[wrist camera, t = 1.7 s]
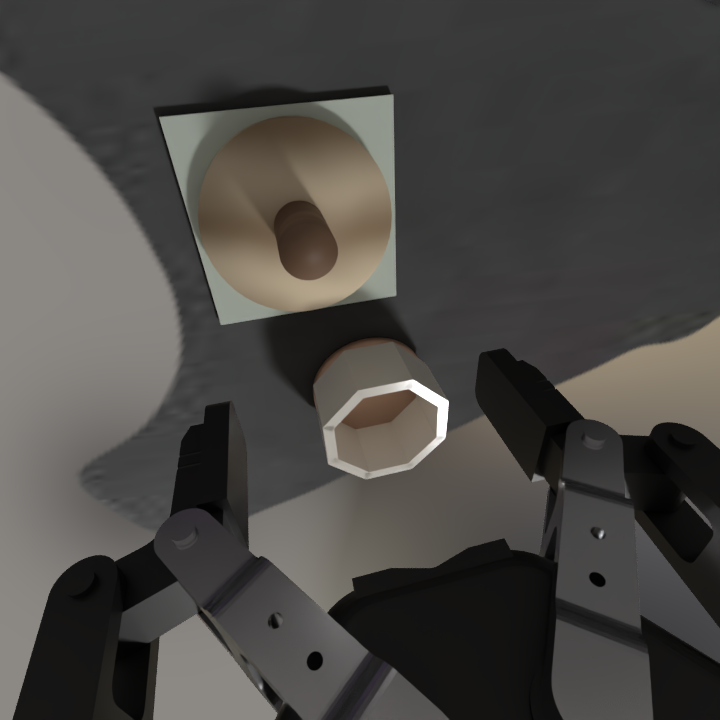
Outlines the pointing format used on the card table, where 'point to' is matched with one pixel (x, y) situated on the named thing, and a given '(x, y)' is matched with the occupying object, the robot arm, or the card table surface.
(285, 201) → the lid
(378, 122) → the mat
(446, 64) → the card table surface
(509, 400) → the robot arm
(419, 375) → the cup
